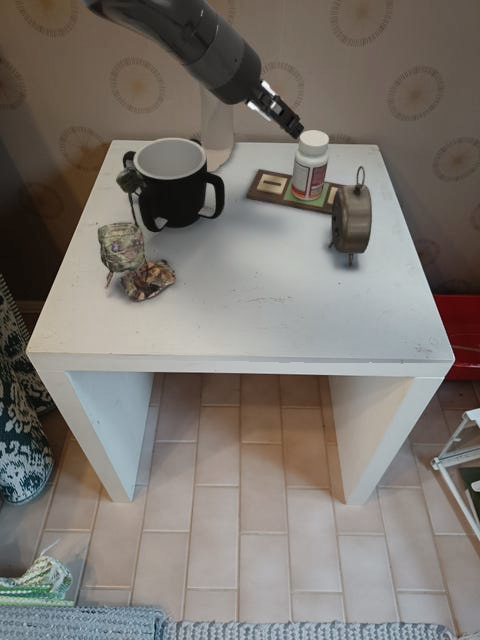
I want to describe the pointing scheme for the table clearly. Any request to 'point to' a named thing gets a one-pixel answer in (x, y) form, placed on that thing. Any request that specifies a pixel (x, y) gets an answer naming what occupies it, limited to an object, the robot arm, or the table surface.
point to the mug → (174, 183)
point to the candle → (216, 129)
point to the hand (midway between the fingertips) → (282, 120)
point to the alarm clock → (351, 218)
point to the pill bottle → (310, 165)
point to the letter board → (289, 192)
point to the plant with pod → (131, 249)
